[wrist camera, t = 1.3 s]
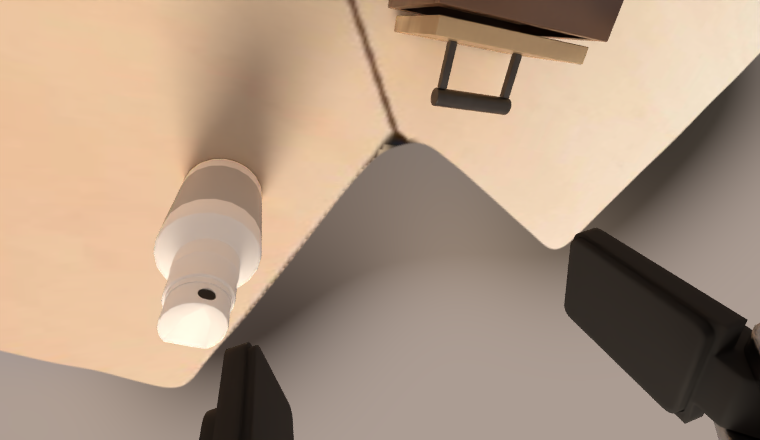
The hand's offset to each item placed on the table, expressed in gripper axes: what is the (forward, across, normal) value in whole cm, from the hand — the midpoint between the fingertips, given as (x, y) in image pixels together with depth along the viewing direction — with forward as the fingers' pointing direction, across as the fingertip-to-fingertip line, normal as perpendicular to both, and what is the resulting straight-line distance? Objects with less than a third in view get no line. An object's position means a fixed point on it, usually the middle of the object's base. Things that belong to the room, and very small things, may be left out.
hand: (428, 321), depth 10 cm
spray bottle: (+27, +10, +4) cm, 30 cm away
